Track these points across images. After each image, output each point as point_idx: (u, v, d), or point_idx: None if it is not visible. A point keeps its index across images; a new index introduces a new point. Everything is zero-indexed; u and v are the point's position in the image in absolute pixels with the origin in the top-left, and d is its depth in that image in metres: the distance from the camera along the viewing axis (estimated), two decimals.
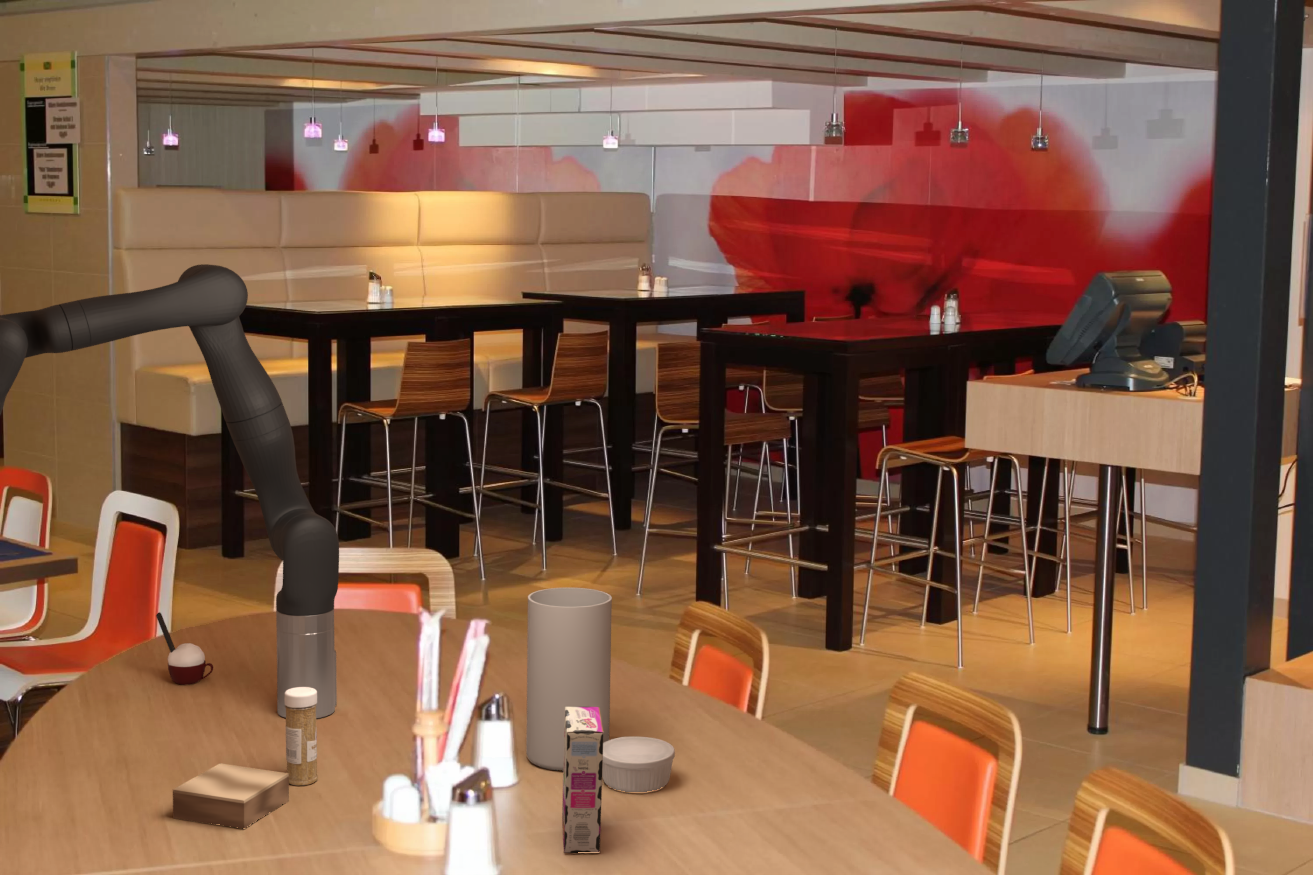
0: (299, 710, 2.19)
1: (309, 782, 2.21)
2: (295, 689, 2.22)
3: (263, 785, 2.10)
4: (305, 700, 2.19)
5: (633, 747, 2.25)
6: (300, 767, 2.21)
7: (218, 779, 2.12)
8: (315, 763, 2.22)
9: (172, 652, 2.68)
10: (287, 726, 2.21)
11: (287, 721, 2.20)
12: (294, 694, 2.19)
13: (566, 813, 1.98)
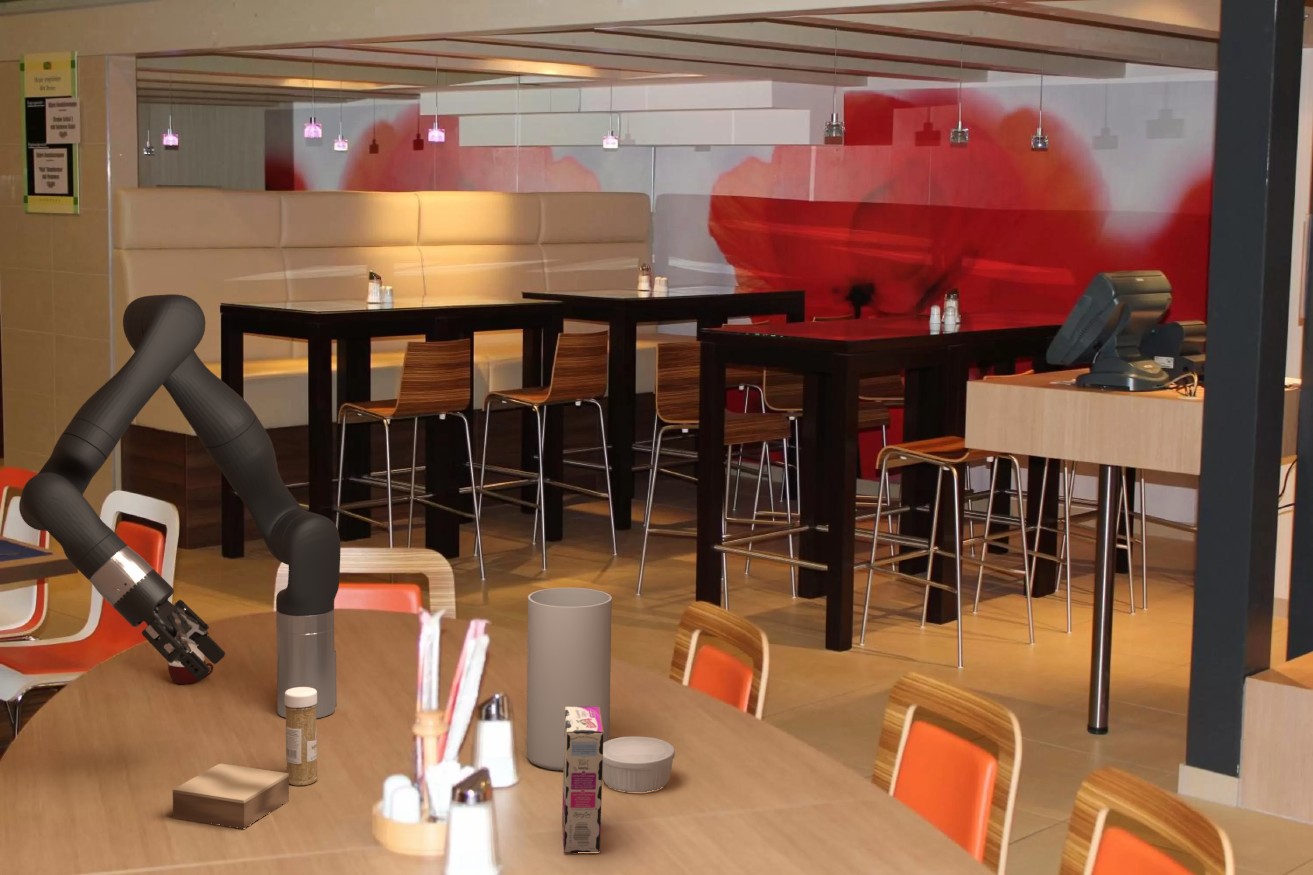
0: (299, 710, 2.19)
1: (309, 782, 2.21)
2: (295, 689, 2.22)
3: (263, 785, 2.10)
4: (305, 700, 2.19)
5: (633, 747, 2.25)
6: (300, 767, 2.21)
7: (218, 779, 2.12)
8: (315, 763, 2.22)
9: None
10: (287, 726, 2.21)
11: (287, 721, 2.20)
12: (294, 694, 2.19)
13: (566, 813, 1.98)
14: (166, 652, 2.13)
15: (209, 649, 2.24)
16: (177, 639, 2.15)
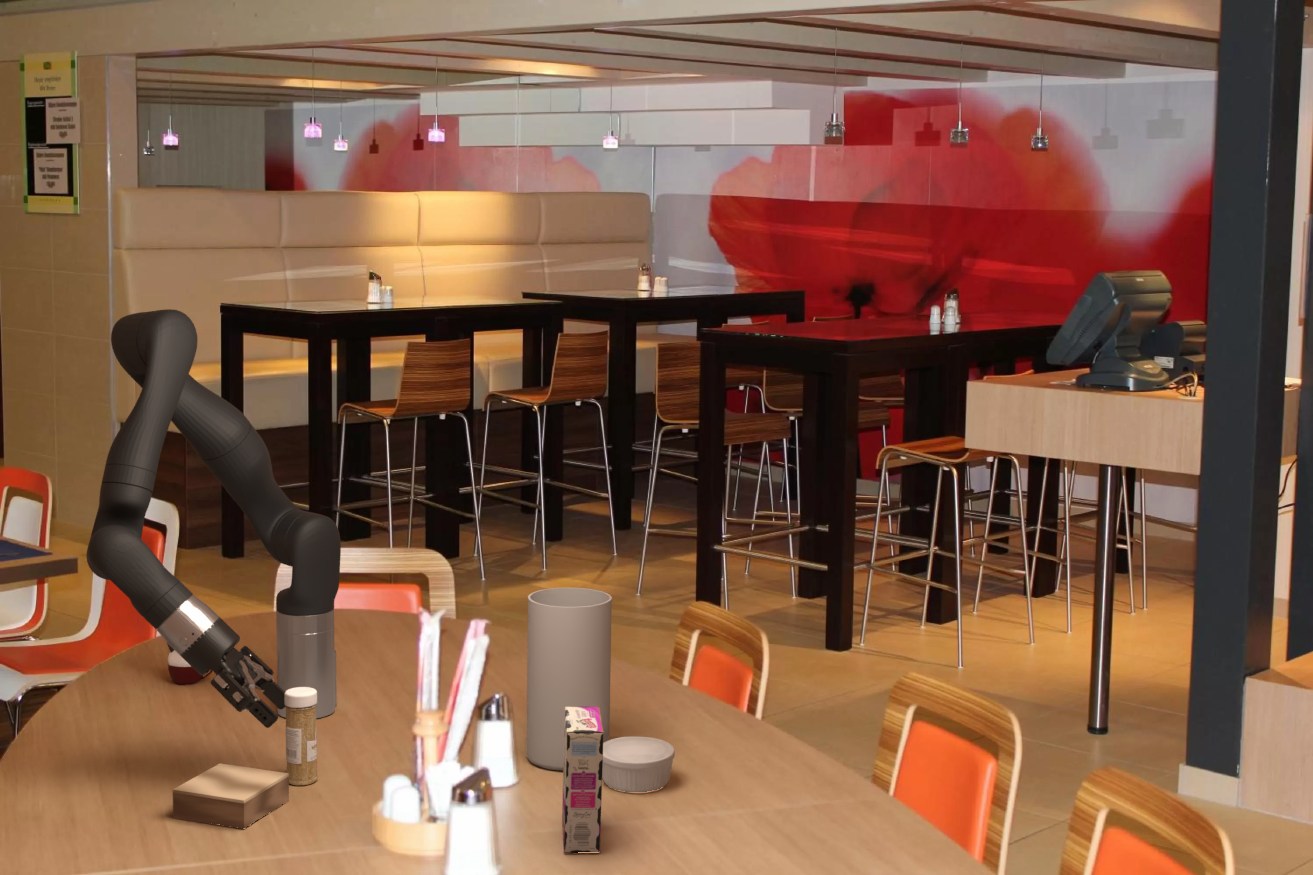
0: (299, 710, 2.19)
1: (309, 782, 2.21)
2: (295, 689, 2.22)
3: (263, 785, 2.10)
4: (305, 700, 2.19)
5: (633, 747, 2.25)
6: (300, 767, 2.21)
7: (218, 779, 2.12)
8: (315, 763, 2.22)
9: (172, 652, 2.68)
10: (287, 726, 2.21)
11: (287, 721, 2.20)
12: (294, 694, 2.19)
13: (566, 813, 1.98)
14: (234, 702, 2.14)
15: (275, 695, 2.25)
16: (245, 687, 2.17)
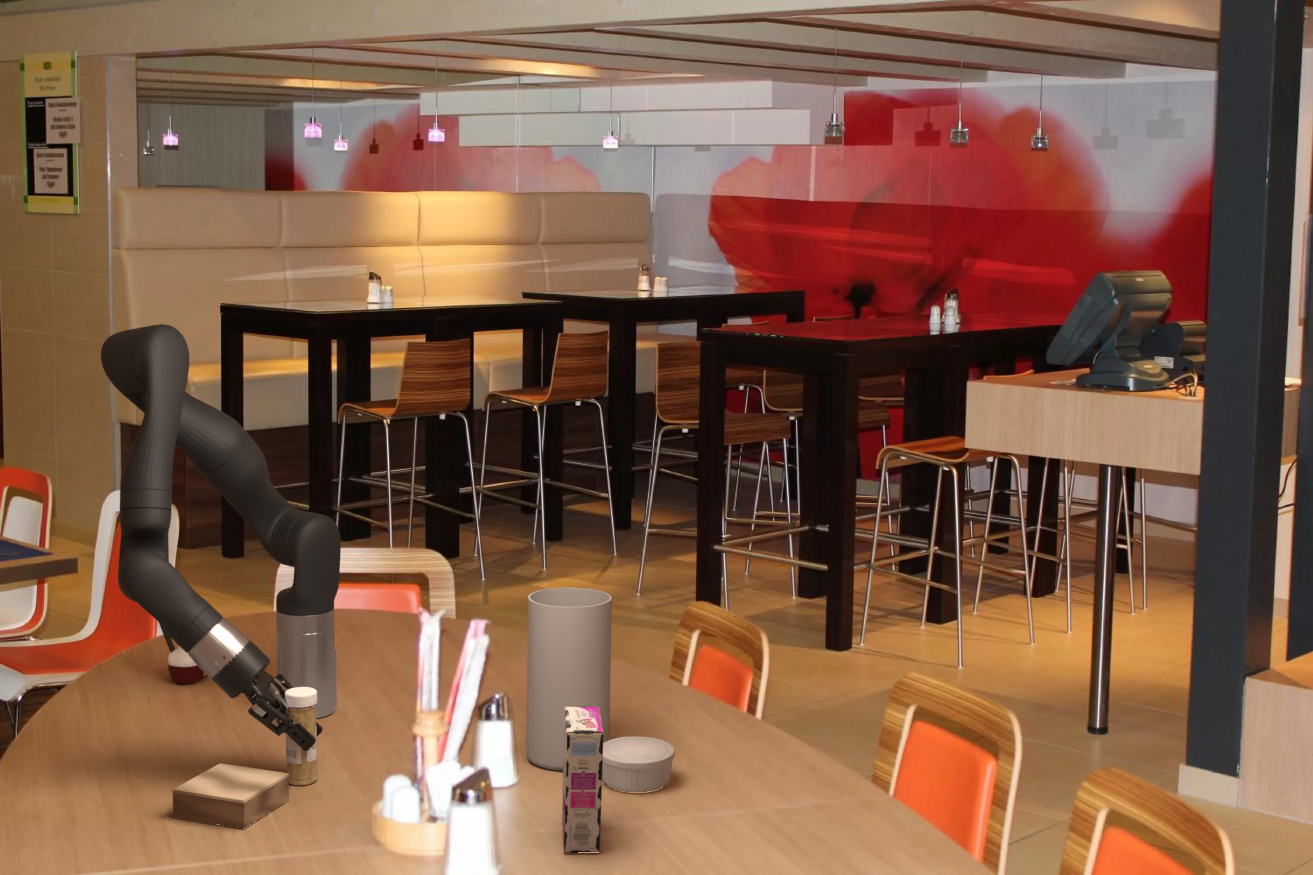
0: (299, 710, 2.19)
1: (309, 782, 2.21)
2: (295, 689, 2.22)
3: (263, 785, 2.10)
4: (305, 700, 2.19)
5: (633, 747, 2.25)
6: (300, 767, 2.21)
7: (218, 779, 2.12)
8: (315, 763, 2.22)
9: (172, 652, 2.68)
10: None
11: None
12: (294, 694, 2.19)
13: (566, 813, 1.98)
14: (274, 727, 2.16)
15: None
16: (282, 712, 2.18)
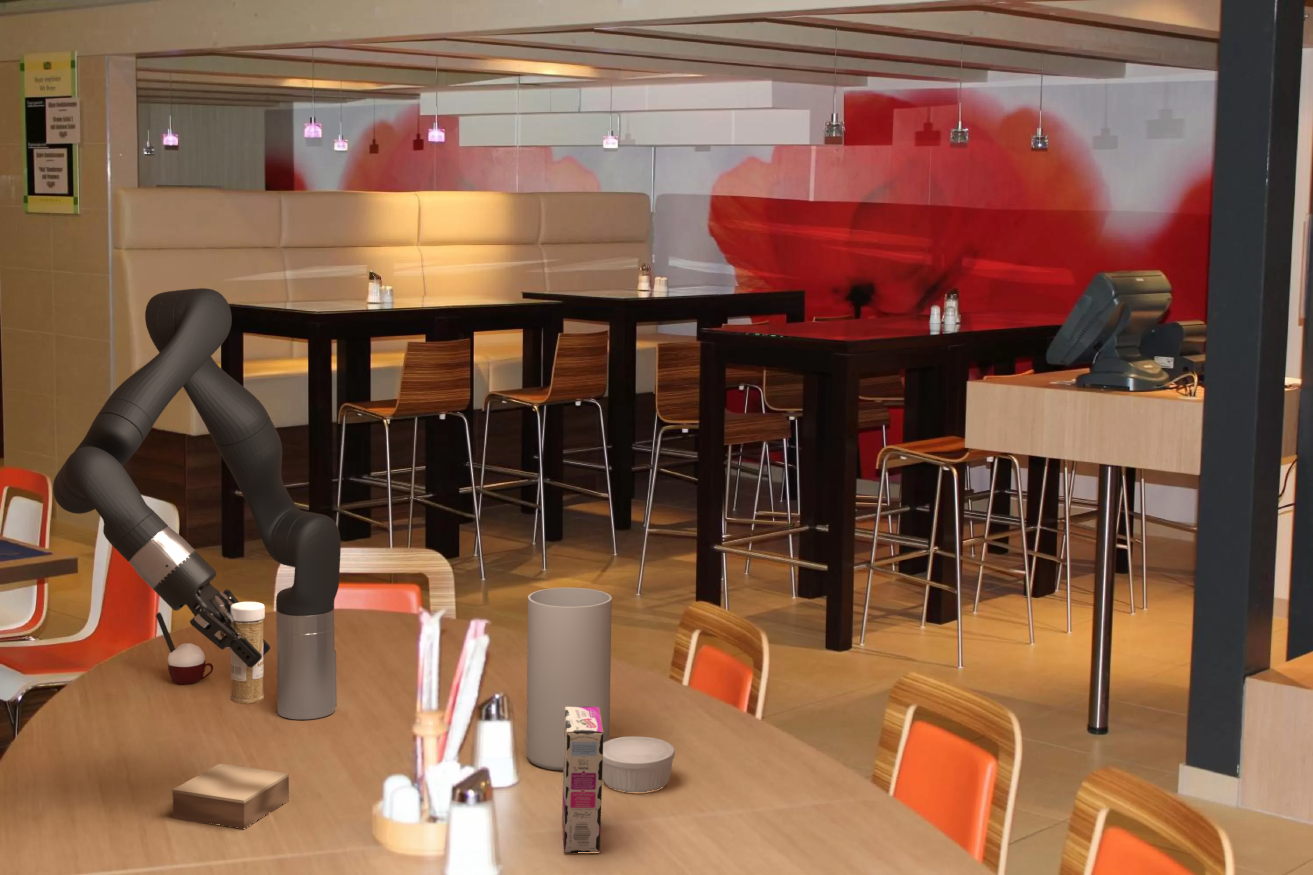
0: (245, 624, 2.09)
1: (254, 701, 2.11)
2: (242, 603, 2.12)
3: (263, 785, 2.10)
4: (252, 614, 2.09)
5: (633, 747, 2.25)
6: (245, 685, 2.10)
7: (218, 779, 2.12)
8: (261, 682, 2.12)
9: (172, 652, 2.68)
10: None
11: None
12: (240, 607, 2.09)
13: (566, 813, 1.98)
14: (217, 640, 2.06)
15: None
16: (226, 625, 2.08)
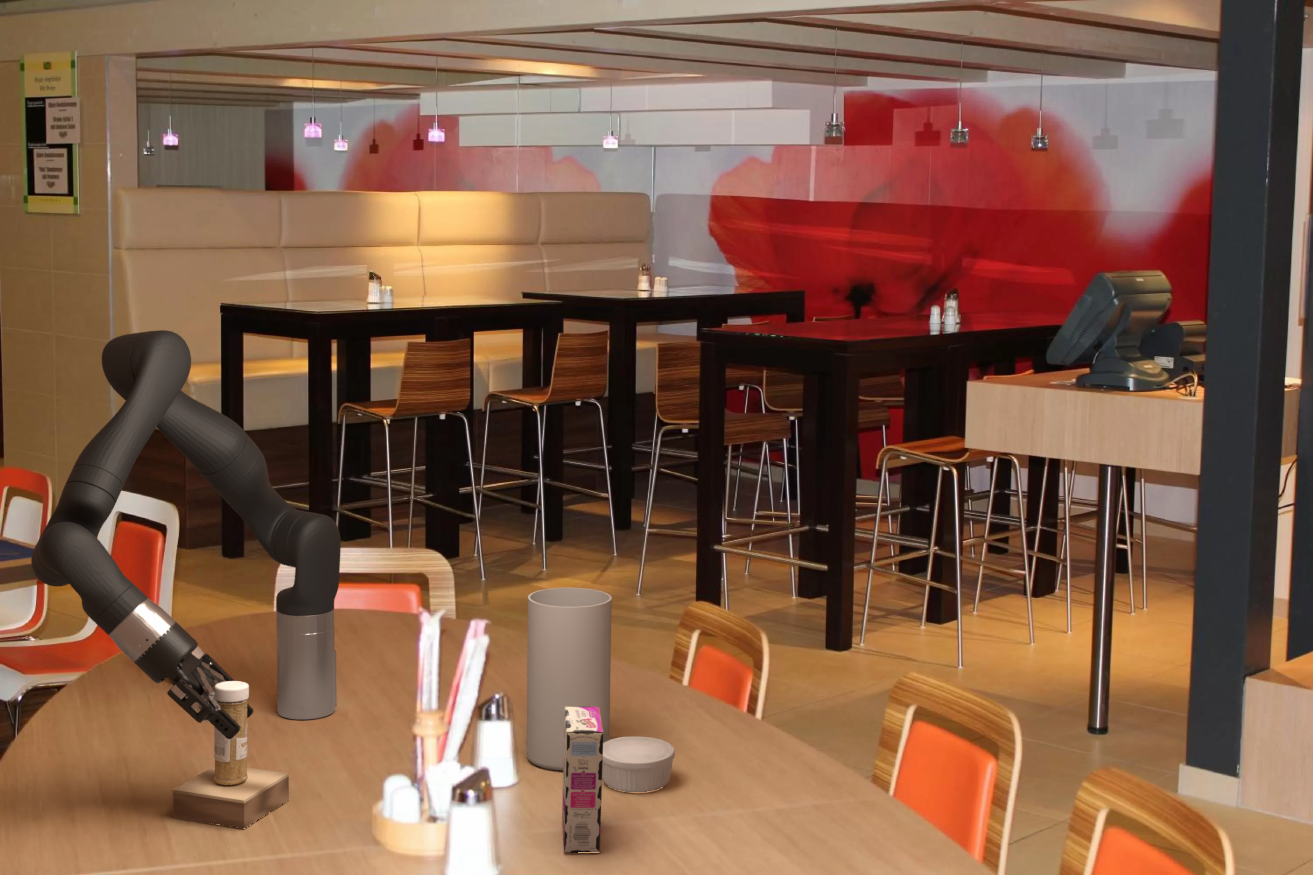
0: (228, 704, 2.08)
1: (238, 782, 2.09)
2: (226, 683, 2.10)
3: (263, 785, 2.10)
4: (236, 694, 2.08)
5: (633, 747, 2.25)
6: (229, 765, 2.09)
7: None
8: (245, 762, 2.10)
9: None
10: None
11: None
12: (224, 687, 2.08)
13: (566, 813, 1.98)
14: (194, 712, 2.03)
15: None
16: (205, 697, 2.06)
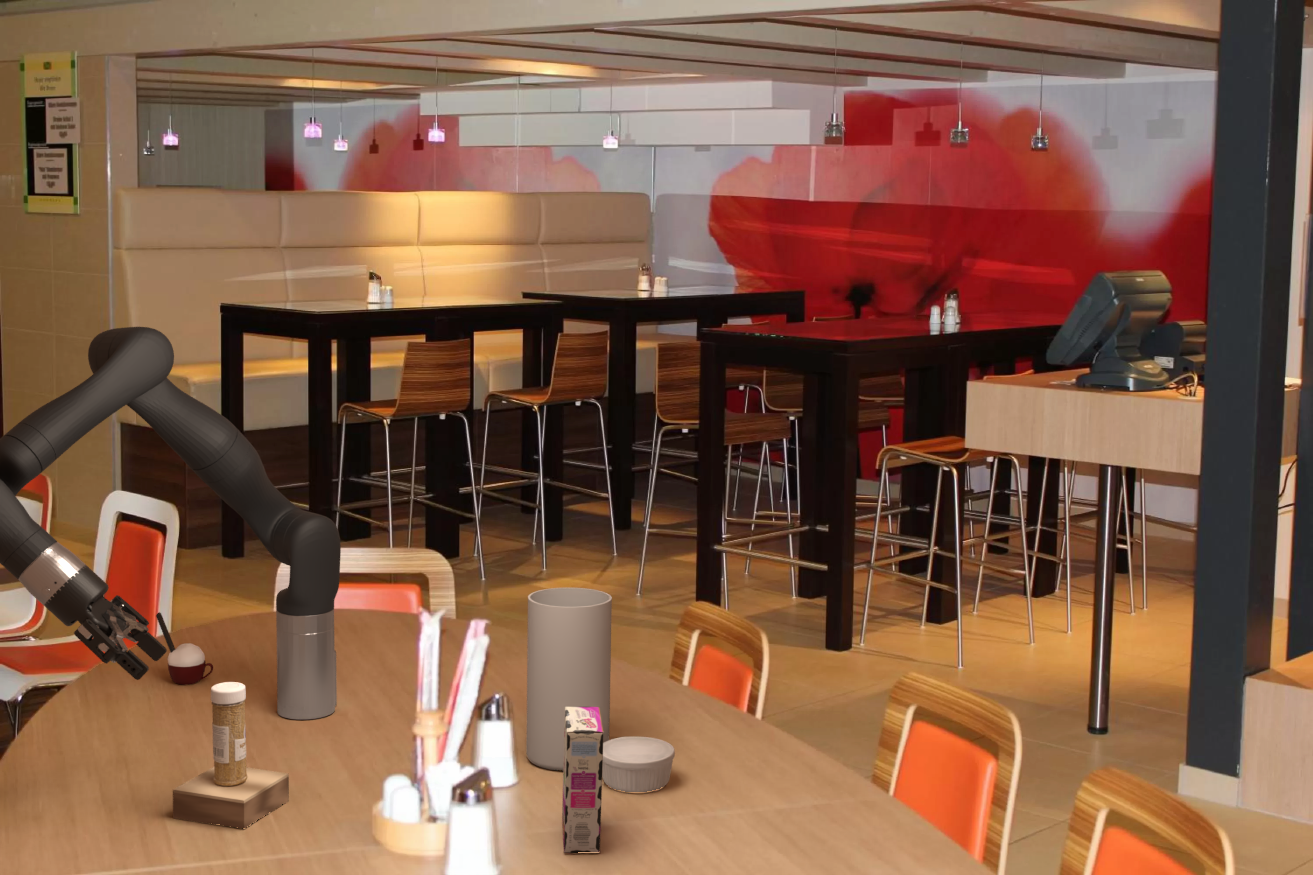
0: (226, 707, 2.07)
1: (237, 782, 2.09)
2: (222, 684, 2.10)
3: (263, 785, 2.10)
4: (232, 696, 2.07)
5: (633, 747, 2.25)
6: (228, 767, 2.09)
7: None
8: (244, 762, 2.10)
9: (172, 652, 2.68)
10: (214, 723, 2.09)
11: (214, 718, 2.08)
12: (220, 689, 2.07)
13: (566, 813, 1.98)
14: (100, 653, 2.04)
15: (149, 646, 2.14)
16: (112, 638, 2.06)
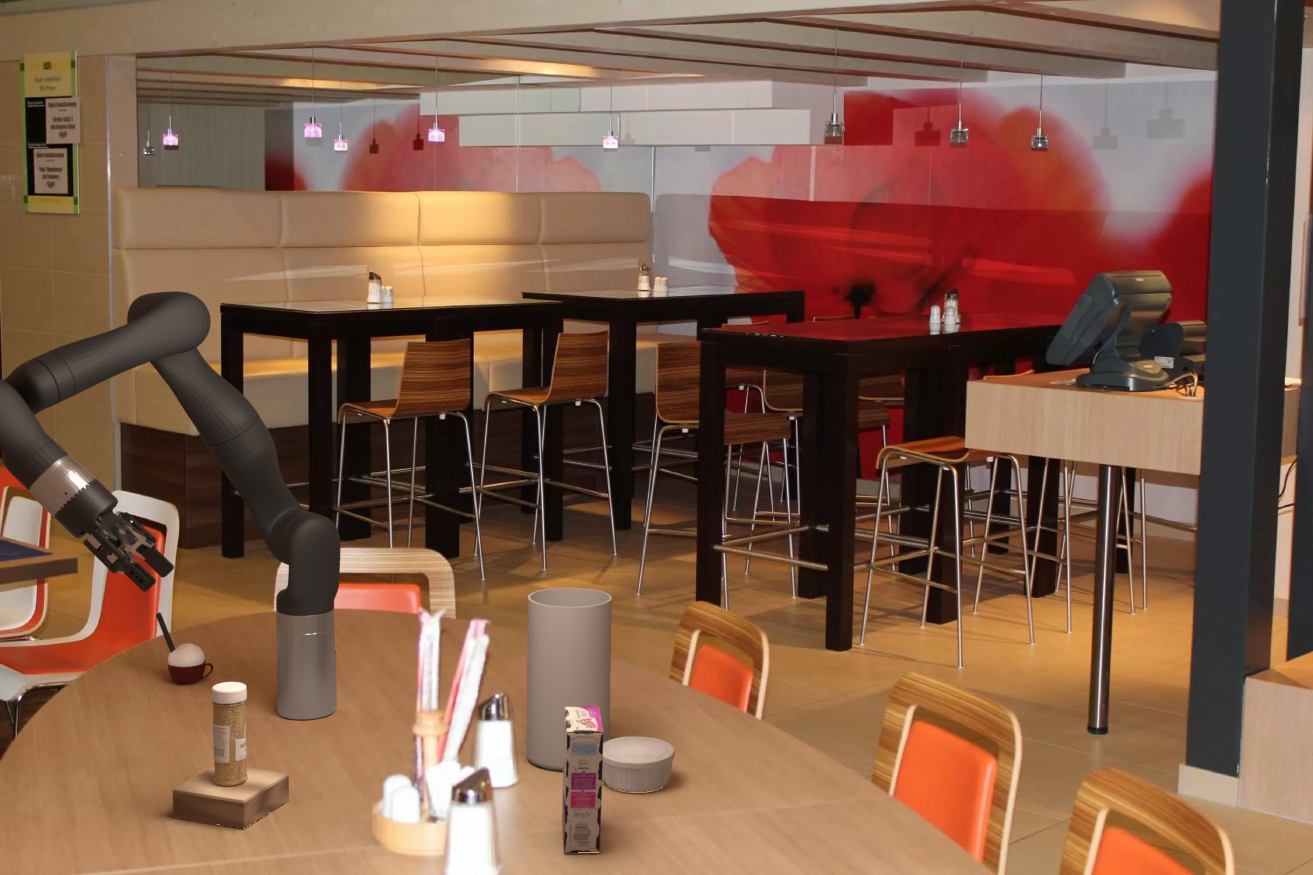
0: (227, 706, 2.07)
1: (238, 782, 2.09)
2: (223, 684, 2.10)
3: (263, 785, 2.10)
4: (233, 696, 2.07)
5: (633, 747, 2.25)
6: (228, 767, 2.09)
7: None
8: (245, 763, 2.10)
9: (172, 652, 2.68)
10: (214, 723, 2.09)
11: (214, 718, 2.09)
12: (221, 689, 2.08)
13: (566, 813, 1.98)
14: (109, 563, 2.05)
15: (157, 562, 2.16)
16: (121, 549, 2.08)
